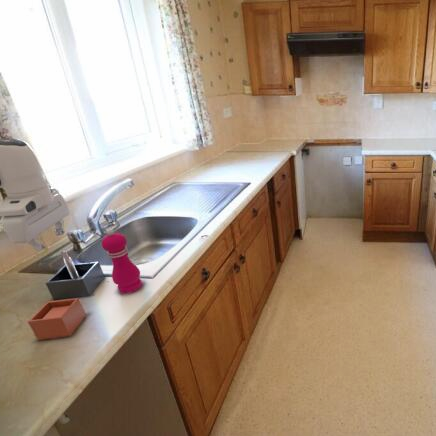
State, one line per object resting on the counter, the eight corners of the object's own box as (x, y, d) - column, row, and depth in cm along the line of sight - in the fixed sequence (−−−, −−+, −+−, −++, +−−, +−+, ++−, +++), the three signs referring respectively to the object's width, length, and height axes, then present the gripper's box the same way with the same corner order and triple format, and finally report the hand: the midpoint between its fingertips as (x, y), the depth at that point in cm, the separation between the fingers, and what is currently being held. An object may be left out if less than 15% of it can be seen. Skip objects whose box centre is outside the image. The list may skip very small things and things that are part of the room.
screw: (70, 285, 100) (88, 280, 103) (69, 293, 97) (88, 287, 99) (53, 249, 95) (73, 244, 97) (52, 256, 91) (72, 251, 94)
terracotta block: (48, 332, 82) (41, 319, 80) (59, 320, 86) (52, 307, 84) (67, 330, 83) (60, 317, 81) (76, 318, 87) (70, 305, 85)
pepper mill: (136, 277, 104) (117, 222, 95) (148, 285, 100) (129, 227, 91) (113, 289, 98) (89, 231, 90) (124, 297, 95) (101, 238, 86)
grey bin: (53, 299, 95) (45, 283, 93) (72, 280, 104) (64, 265, 101) (89, 295, 96) (82, 279, 94) (105, 277, 105) (98, 261, 102)
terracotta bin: (37, 340, 81) (27, 321, 78) (56, 319, 87) (47, 301, 85) (70, 336, 81) (61, 317, 79) (86, 315, 88) (78, 297, 86)
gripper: (43, 186, 98) (60, 227, 104) (-10, 213, 80) (14, 260, 86) (66, 185, 99) (81, 225, 105) (18, 211, 81) (39, 258, 86)
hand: (50, 241), depth 95 cm, fingers open, 8 cm apart
